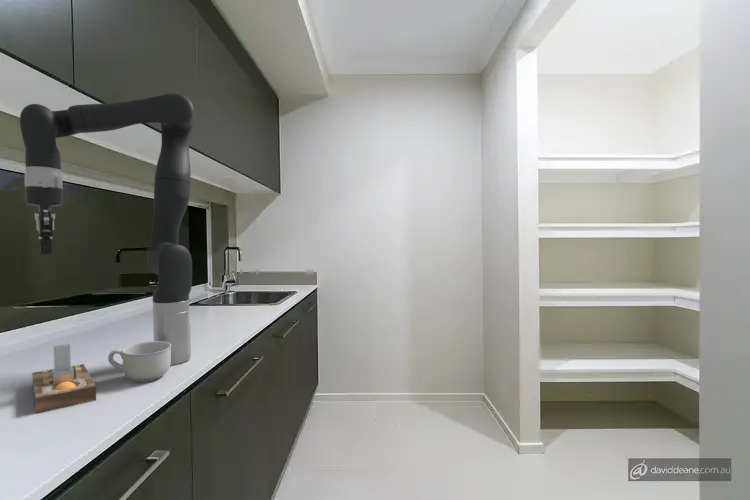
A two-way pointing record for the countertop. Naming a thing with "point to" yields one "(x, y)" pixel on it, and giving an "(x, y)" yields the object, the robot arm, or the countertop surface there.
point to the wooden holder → (62, 398)
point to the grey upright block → (62, 365)
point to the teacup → (144, 360)
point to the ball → (64, 386)
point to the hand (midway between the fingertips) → (46, 254)
